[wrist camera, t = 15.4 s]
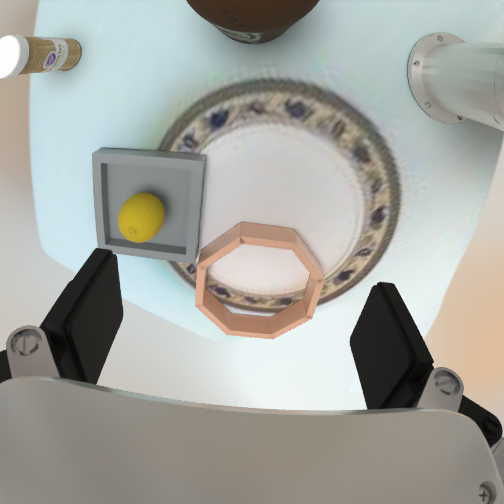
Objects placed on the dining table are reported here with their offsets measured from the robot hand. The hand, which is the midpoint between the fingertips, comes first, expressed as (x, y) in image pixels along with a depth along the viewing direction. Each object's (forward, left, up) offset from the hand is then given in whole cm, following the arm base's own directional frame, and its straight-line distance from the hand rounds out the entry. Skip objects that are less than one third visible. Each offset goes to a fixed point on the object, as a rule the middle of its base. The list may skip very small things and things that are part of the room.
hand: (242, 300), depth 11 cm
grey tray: (+12, +10, -30) cm, 34 cm away
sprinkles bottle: (+25, -10, -31) cm, 41 cm away
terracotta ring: (-4, +20, -30) cm, 37 cm away
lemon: (+12, +10, -30) cm, 33 cm away
